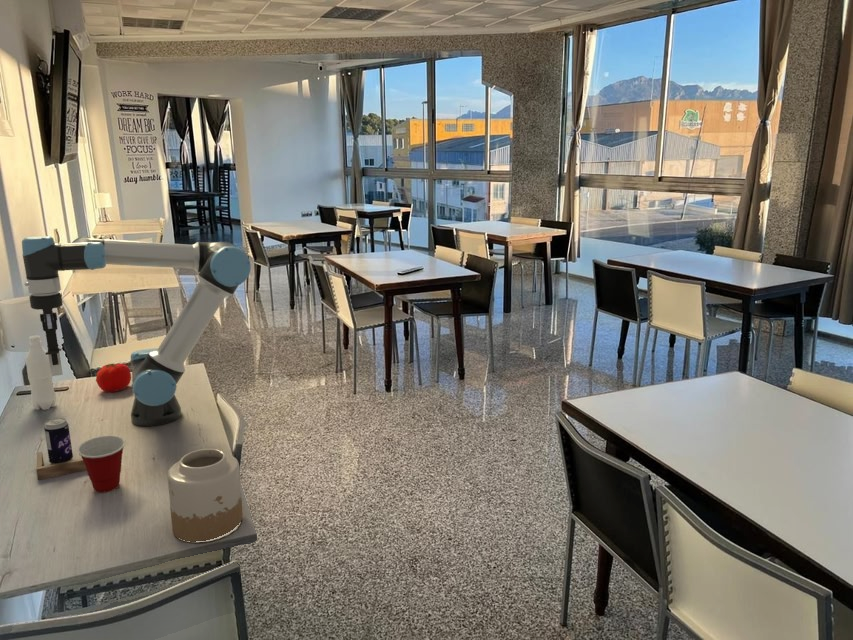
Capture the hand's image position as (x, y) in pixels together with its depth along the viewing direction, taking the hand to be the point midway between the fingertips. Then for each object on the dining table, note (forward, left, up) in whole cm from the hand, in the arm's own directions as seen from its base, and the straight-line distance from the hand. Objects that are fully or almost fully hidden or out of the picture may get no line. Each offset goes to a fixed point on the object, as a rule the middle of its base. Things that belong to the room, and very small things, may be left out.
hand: (57, 374), depth 172 cm
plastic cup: (-18, +27, -23) cm, 40 cm away
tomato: (+1, -49, -23) cm, 54 cm away
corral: (-3, +12, -22) cm, 26 cm away
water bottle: (+19, -34, -23) cm, 45 cm away
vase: (-46, +49, -23) cm, 71 cm away
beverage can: (-2, +10, -23) cm, 25 cm away
